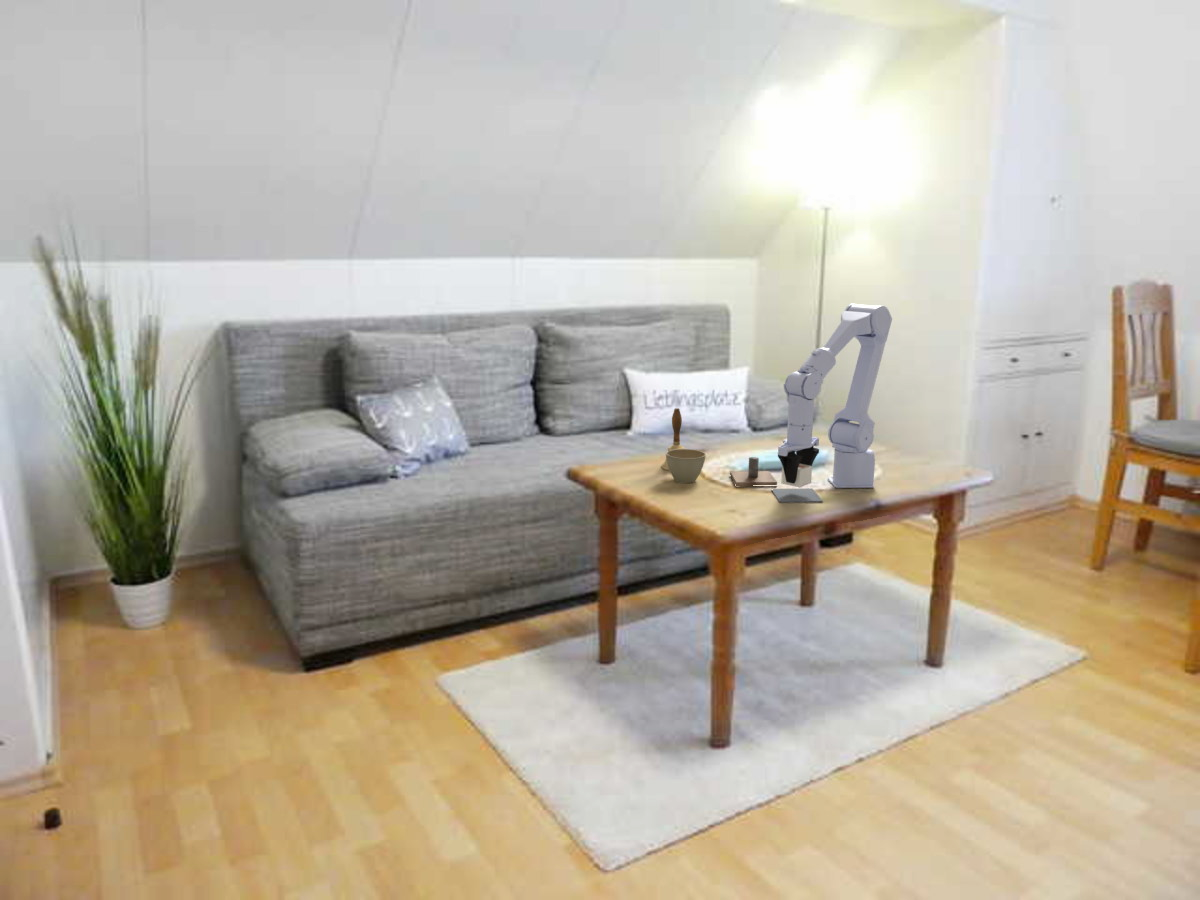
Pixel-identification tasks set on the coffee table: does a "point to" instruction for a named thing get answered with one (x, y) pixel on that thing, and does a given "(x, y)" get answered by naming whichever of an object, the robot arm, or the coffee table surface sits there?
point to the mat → (797, 495)
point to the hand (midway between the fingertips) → (797, 480)
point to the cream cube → (800, 476)
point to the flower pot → (685, 464)
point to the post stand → (752, 475)
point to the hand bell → (675, 434)
